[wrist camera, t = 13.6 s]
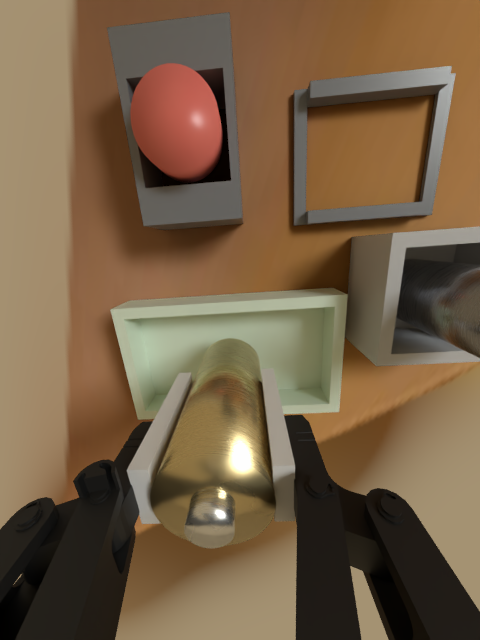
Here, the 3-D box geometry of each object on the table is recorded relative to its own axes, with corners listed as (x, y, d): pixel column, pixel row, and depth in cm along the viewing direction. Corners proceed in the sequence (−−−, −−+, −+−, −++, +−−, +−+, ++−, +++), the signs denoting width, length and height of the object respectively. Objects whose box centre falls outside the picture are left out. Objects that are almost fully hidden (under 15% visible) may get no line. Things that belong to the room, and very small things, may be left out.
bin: (351, 236, 17) (392, 233, 12) (464, 228, 17) (552, 221, 12) (344, 336, 19) (376, 366, 15) (442, 331, 19) (508, 360, 14)
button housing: (130, 79, 14) (95, 29, 11) (233, 67, 14) (229, 12, 11) (155, 230, 17) (133, 226, 14) (243, 223, 17) (242, 218, 14)
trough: (129, 300, 19) (110, 309, 16) (332, 287, 18) (347, 294, 15) (151, 398, 22) (137, 419, 19) (327, 391, 21) (338, 411, 18)
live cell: (199, 340, 17) (126, 482, 7) (258, 336, 17) (277, 477, 6) (205, 390, 18) (153, 575, 8) (260, 388, 18) (280, 574, 8)
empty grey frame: (293, 93, 14) (296, 82, 14) (451, 76, 14) (466, 64, 13) (293, 225, 17) (296, 224, 16) (428, 215, 16) (439, 213, 15)
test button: (140, 95, 13) (121, 68, 11) (219, 87, 12) (214, 58, 10) (154, 185, 14) (140, 175, 12) (226, 179, 14) (223, 168, 12)
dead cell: (384, 257, 17) (616, 281, 6) (443, 260, 17) (768, 289, 6) (370, 314, 18) (541, 410, 8) (424, 317, 18) (666, 415, 8)
